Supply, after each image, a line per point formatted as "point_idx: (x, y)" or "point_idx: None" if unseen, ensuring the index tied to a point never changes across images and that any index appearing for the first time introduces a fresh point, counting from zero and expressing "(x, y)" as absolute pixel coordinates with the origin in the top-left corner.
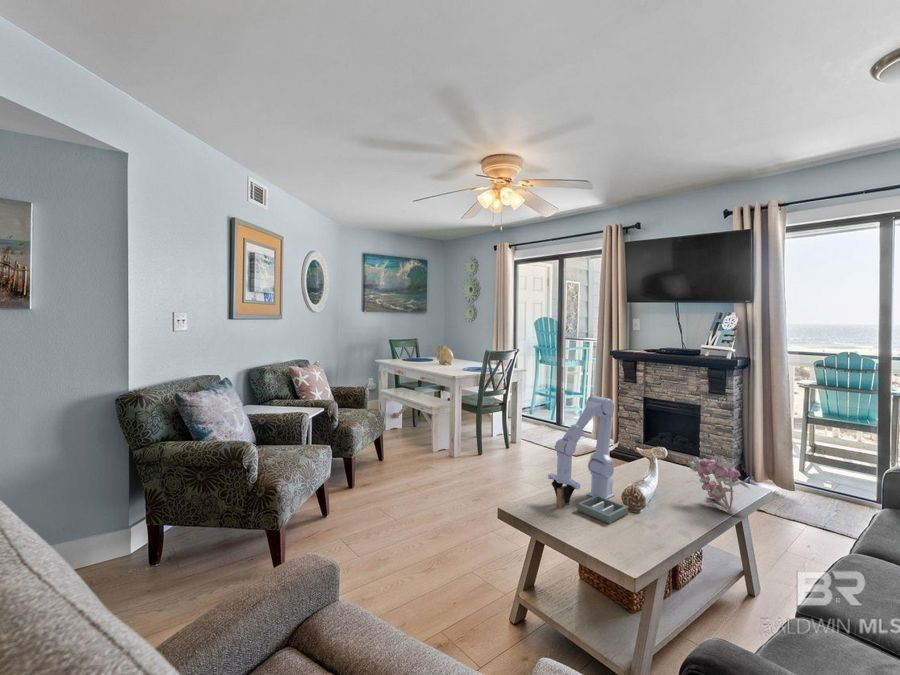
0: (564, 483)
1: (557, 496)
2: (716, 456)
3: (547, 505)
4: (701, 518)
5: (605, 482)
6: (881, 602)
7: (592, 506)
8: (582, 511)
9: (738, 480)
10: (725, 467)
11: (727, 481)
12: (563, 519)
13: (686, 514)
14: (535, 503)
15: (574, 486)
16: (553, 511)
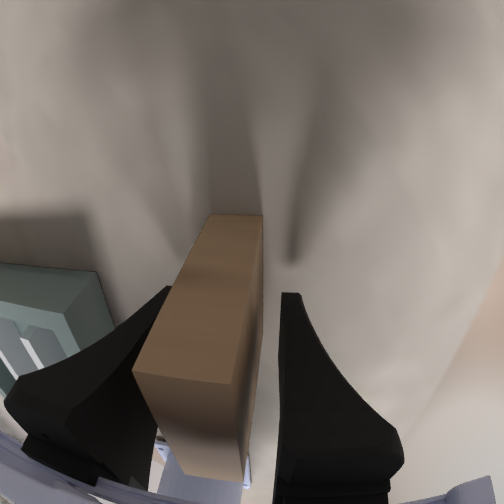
0: (42, 487)
1: (235, 280)
2: None
3: (339, 155)
4: (10, 429)
5: None
6: None
7: (27, 342)
8: (52, 276)
9: None
10: None
11: (2, 501)
12: (44, 55)
13: (26, 435)
14: (453, 101)
15: (7, 451)
16: (194, 84)
